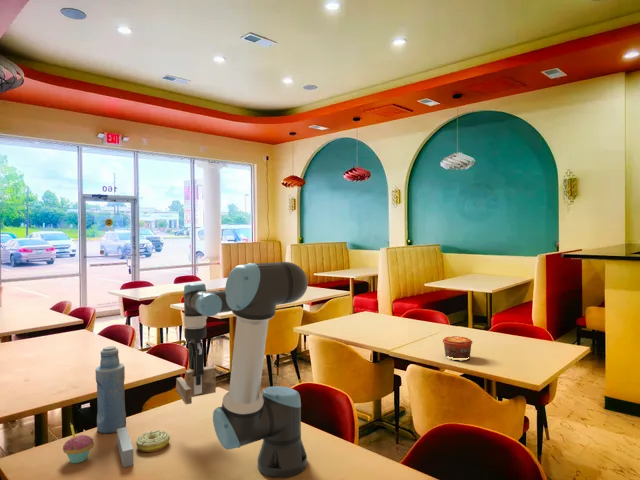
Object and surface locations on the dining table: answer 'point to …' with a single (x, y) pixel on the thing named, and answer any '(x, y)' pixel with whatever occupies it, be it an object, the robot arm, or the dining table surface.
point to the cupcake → (78, 447)
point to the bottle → (110, 392)
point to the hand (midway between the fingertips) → (196, 391)
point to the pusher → (187, 386)
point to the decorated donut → (152, 441)
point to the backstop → (125, 447)
